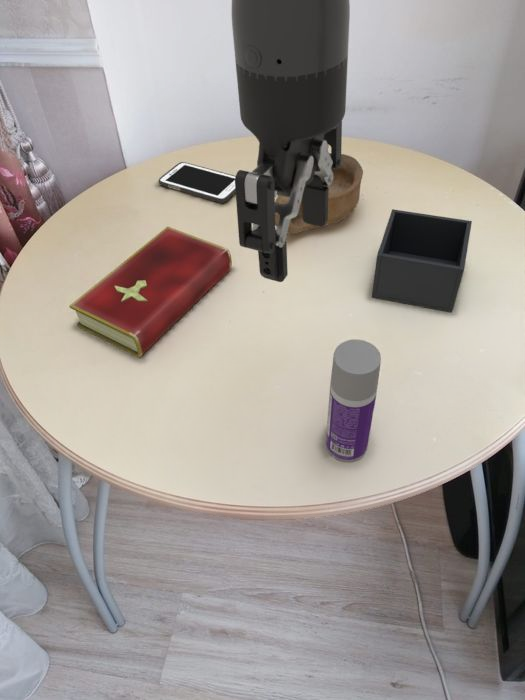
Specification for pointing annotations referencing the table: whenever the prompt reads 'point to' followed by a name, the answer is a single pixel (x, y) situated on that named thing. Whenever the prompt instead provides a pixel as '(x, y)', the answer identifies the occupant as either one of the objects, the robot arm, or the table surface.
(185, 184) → the cell phone
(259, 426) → the table surface
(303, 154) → the robot arm
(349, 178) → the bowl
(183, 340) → the table surface
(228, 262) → the hardcover book
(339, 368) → the container
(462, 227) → the bin
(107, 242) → the table surface
